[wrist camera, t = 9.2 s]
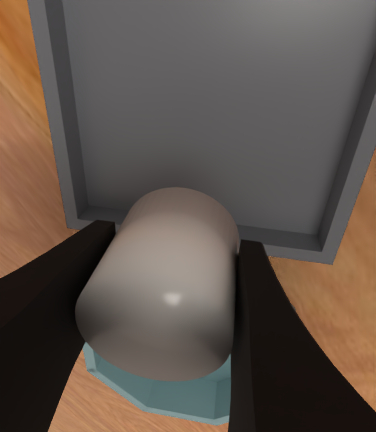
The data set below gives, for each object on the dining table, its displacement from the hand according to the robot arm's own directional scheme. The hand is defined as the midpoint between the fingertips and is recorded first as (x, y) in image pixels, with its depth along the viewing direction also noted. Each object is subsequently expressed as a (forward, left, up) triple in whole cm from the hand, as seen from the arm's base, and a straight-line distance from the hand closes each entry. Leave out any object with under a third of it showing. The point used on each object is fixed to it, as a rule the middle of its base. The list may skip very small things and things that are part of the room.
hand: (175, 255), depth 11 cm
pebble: (0, 0, -1) cm, 1 cm away
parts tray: (0, -4, -8) cm, 9 cm away
